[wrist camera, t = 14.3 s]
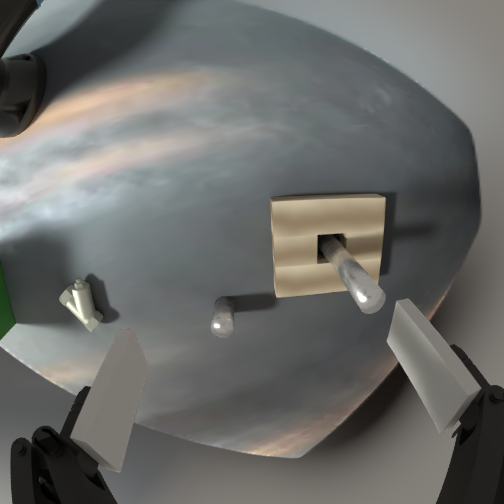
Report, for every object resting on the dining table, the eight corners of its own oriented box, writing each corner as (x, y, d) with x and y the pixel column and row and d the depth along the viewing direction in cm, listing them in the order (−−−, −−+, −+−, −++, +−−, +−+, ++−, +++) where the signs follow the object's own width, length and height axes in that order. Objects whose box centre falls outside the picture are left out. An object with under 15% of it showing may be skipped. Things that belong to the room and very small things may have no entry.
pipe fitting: (82, 269, 38) (67, 292, 40) (70, 279, 35) (56, 303, 36) (115, 303, 40) (98, 323, 42) (105, 315, 37) (89, 335, 38)
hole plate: (269, 197, 35) (272, 201, 32) (375, 193, 35) (385, 197, 32) (274, 287, 39) (276, 297, 37) (369, 277, 39) (377, 286, 37)
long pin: (317, 233, 37) (361, 290, 22) (335, 232, 37) (387, 287, 22) (317, 251, 38) (358, 315, 23) (334, 249, 38) (382, 311, 23)
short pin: (213, 297, 40) (209, 320, 34) (233, 295, 40) (232, 319, 34) (216, 313, 41) (212, 338, 35) (235, 312, 41) (234, 337, 35)
